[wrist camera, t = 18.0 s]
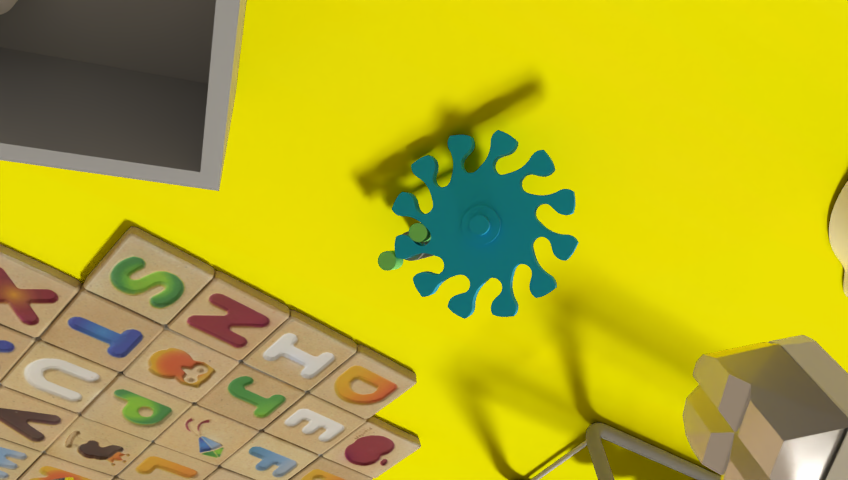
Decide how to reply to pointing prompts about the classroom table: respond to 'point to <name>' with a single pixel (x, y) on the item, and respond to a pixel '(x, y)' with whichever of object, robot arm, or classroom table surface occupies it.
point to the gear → (480, 225)
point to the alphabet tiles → (181, 377)
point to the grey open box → (120, 86)
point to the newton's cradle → (633, 444)
